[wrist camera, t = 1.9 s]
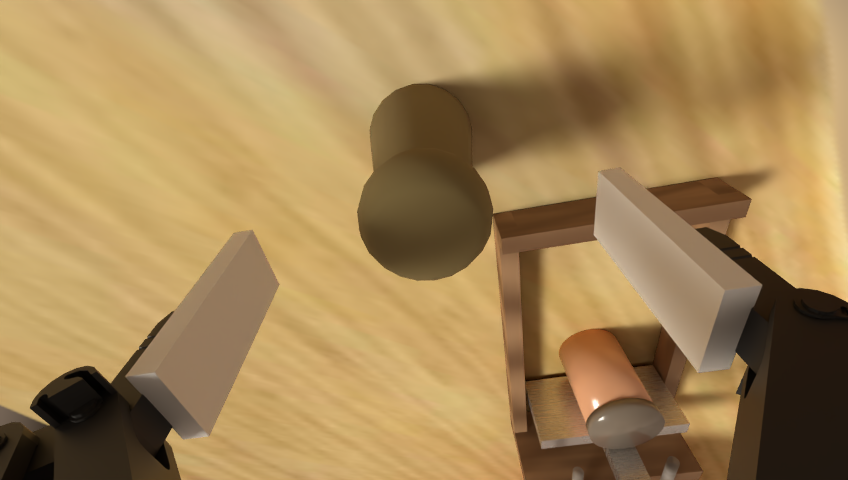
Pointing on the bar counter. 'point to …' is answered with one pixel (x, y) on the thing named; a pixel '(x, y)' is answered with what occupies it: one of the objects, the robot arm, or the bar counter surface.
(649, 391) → the pusher
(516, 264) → the lane
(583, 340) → the terracotta spice jar
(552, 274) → the bar counter surface
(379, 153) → the pepper mill
